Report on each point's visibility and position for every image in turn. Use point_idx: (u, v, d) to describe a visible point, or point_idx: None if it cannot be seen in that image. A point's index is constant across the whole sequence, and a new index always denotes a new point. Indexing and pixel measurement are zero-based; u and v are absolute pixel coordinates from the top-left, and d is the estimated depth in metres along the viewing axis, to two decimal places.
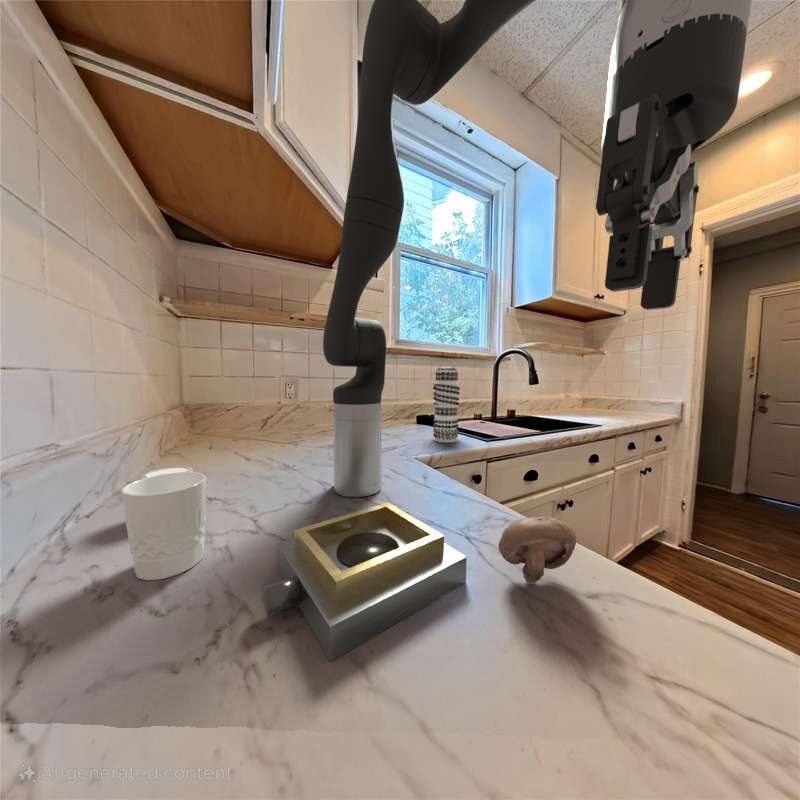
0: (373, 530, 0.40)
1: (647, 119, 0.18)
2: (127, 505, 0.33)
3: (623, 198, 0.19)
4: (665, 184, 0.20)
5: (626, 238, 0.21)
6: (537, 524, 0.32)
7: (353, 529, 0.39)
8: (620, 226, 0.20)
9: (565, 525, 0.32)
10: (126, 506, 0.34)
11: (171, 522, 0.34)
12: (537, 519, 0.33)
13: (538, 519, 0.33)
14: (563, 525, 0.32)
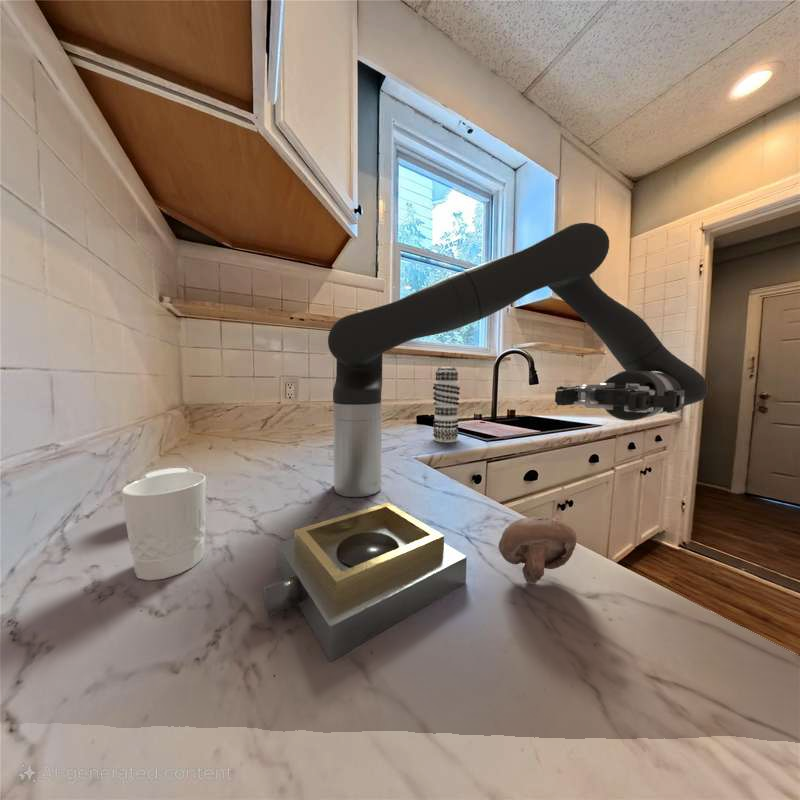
0: (373, 530, 0.40)
1: (682, 408, 0.40)
2: (127, 505, 0.33)
3: (674, 404, 0.37)
4: (646, 411, 0.40)
5: None
6: (537, 524, 0.32)
7: (353, 529, 0.39)
8: (655, 399, 0.38)
9: (566, 525, 0.32)
10: (126, 506, 0.34)
11: (171, 522, 0.34)
12: (537, 519, 0.33)
13: (538, 519, 0.33)
14: (563, 525, 0.32)
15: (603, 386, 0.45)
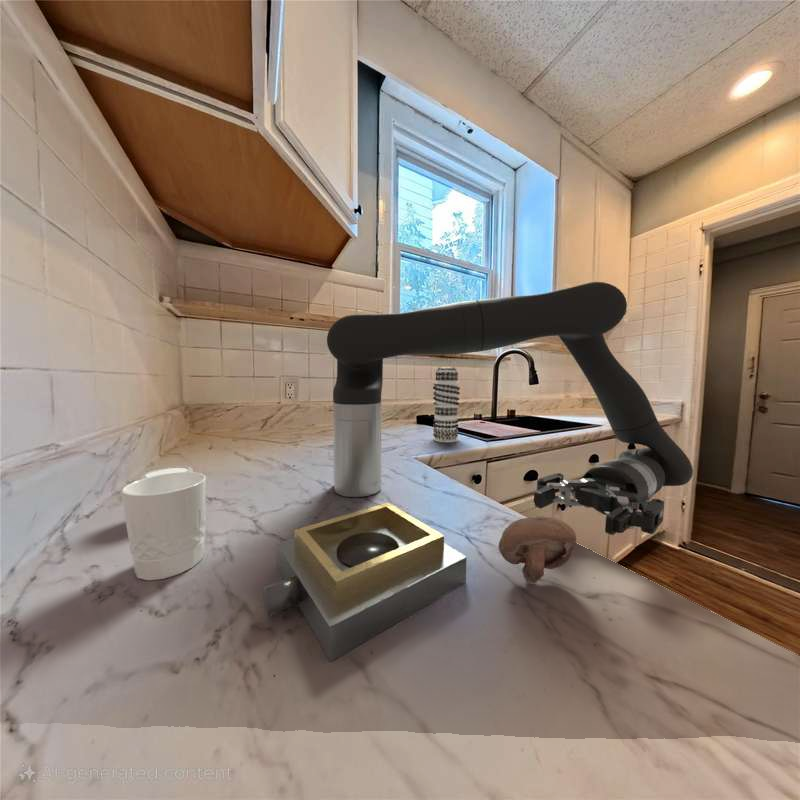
0: (373, 530, 0.40)
1: (661, 521, 0.39)
2: (127, 505, 0.33)
3: (652, 525, 0.36)
4: None
5: None
6: (537, 524, 0.32)
7: (353, 529, 0.39)
8: (633, 518, 0.37)
9: (565, 525, 0.32)
10: (126, 506, 0.34)
11: (171, 522, 0.34)
12: (537, 519, 0.33)
13: (538, 519, 0.33)
14: (563, 525, 0.32)
15: (583, 484, 0.44)
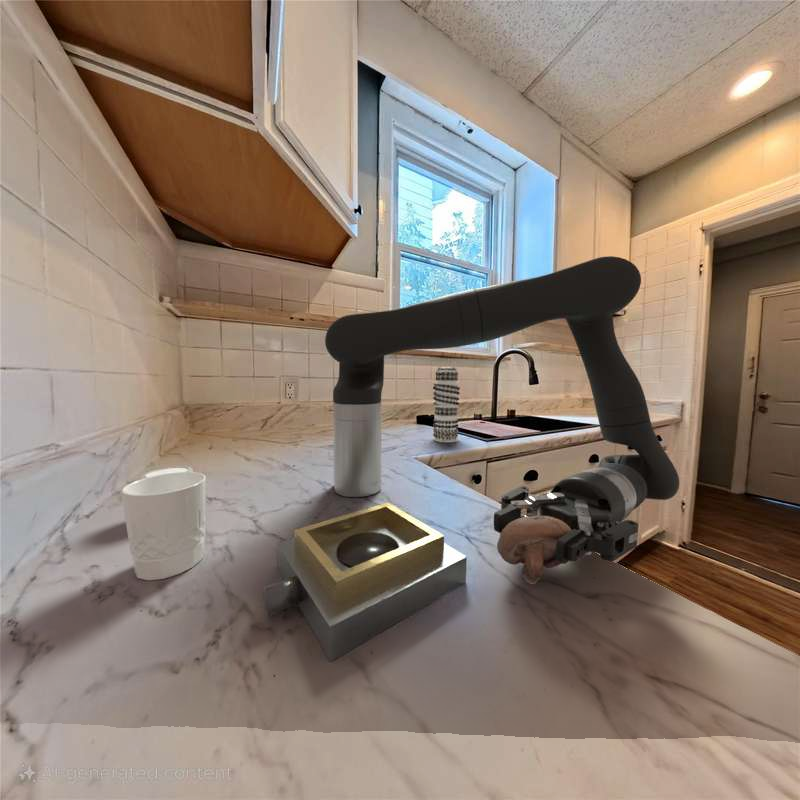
0: (373, 530, 0.40)
1: (632, 548, 0.32)
2: (127, 505, 0.33)
3: (611, 551, 0.30)
4: None
5: None
6: (534, 523, 0.32)
7: (353, 529, 0.39)
8: (590, 543, 0.31)
9: (562, 523, 0.32)
10: (126, 506, 0.34)
11: (171, 522, 0.34)
12: (534, 518, 0.33)
13: (535, 518, 0.33)
14: (560, 523, 0.32)
15: (551, 500, 0.38)
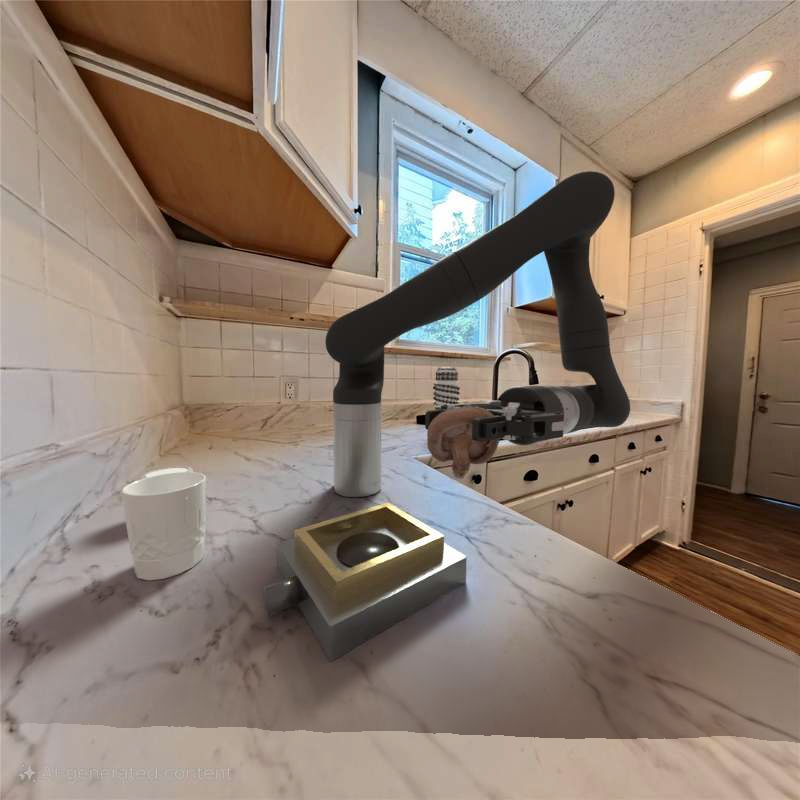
0: (373, 530, 0.40)
1: (556, 436, 0.32)
2: (127, 505, 0.33)
3: (528, 432, 0.30)
4: (514, 438, 0.33)
5: None
6: (456, 410, 0.32)
7: (353, 529, 0.39)
8: (510, 425, 0.31)
9: (485, 410, 0.32)
10: (126, 506, 0.34)
11: (171, 522, 0.34)
12: (458, 408, 0.33)
13: (459, 408, 0.33)
14: (482, 409, 0.32)
15: (488, 405, 0.38)
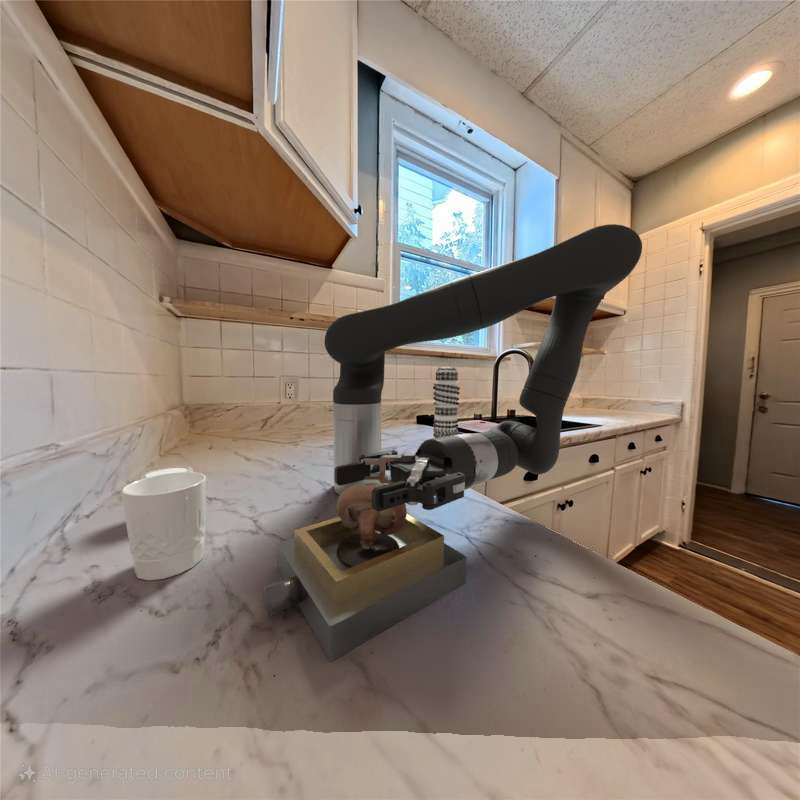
0: None
1: (457, 498, 0.33)
2: (127, 505, 0.33)
3: (429, 500, 0.31)
4: None
5: None
6: (362, 488, 0.33)
7: None
8: (411, 492, 0.31)
9: None
10: (126, 506, 0.34)
11: (171, 522, 0.34)
12: (366, 484, 0.34)
13: (367, 484, 0.33)
14: None
15: (399, 459, 0.39)
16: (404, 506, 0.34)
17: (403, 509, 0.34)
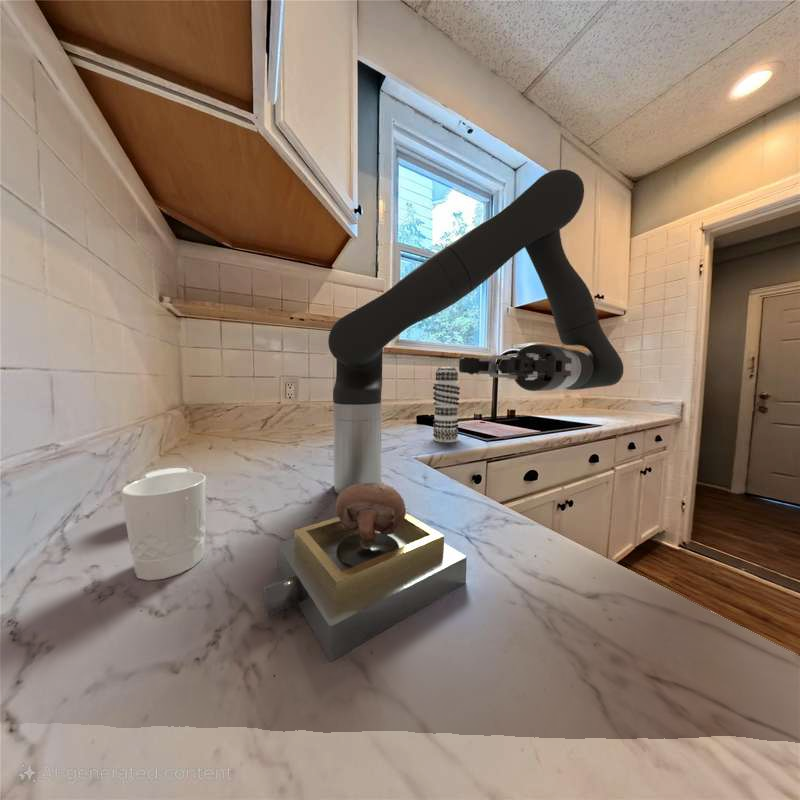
0: None
1: (567, 374, 0.42)
2: (127, 505, 0.33)
3: (552, 367, 0.40)
4: (536, 377, 0.43)
5: None
6: (360, 488, 0.33)
7: None
8: (537, 363, 0.40)
9: (388, 489, 0.33)
10: (126, 506, 0.34)
11: (171, 522, 0.34)
12: (364, 484, 0.34)
13: (365, 484, 0.34)
14: (385, 489, 0.33)
15: (507, 357, 0.48)
16: (403, 505, 0.34)
17: (402, 508, 0.34)
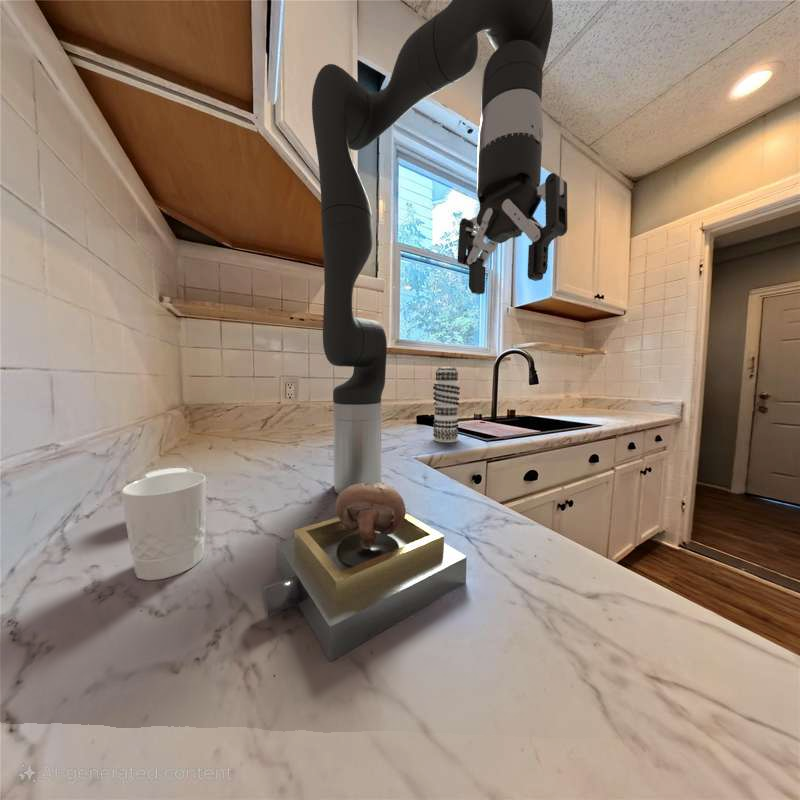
0: None
1: (566, 193, 0.35)
2: (127, 505, 0.33)
3: (561, 229, 0.34)
4: (542, 228, 0.37)
5: None
6: (360, 488, 0.33)
7: None
8: (545, 242, 0.35)
9: (388, 489, 0.33)
10: (126, 506, 0.34)
11: (171, 522, 0.34)
12: (364, 484, 0.34)
13: (365, 484, 0.34)
14: (385, 489, 0.33)
15: (488, 227, 0.40)
16: (403, 505, 0.34)
17: (402, 508, 0.34)
